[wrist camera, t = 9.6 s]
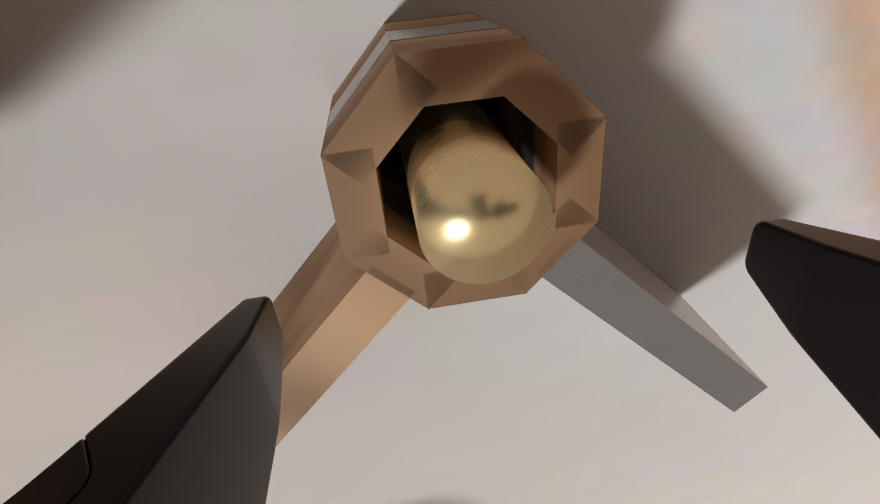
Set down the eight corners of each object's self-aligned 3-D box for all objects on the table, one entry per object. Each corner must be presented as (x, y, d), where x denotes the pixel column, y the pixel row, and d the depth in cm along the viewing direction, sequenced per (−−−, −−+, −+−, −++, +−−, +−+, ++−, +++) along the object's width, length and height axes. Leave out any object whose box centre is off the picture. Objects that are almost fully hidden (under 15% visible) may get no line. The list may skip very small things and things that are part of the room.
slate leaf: (299, 142, 17) (274, 219, 12) (423, -34, 15) (455, -31, 10) (610, 351, 25) (677, 454, 19) (725, 251, 22) (833, 337, 17)
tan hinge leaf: (423, -34, 15) (455, -31, 10) (571, 106, 18) (655, 164, 13) (161, 340, 21) (96, 465, 16) (307, 402, 24) (292, 525, 18)
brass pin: (378, 132, 18) (389, 241, 11) (431, 61, 17) (481, 131, 10) (443, 179, 19) (489, 304, 12) (496, 116, 18) (580, 212, 11)
